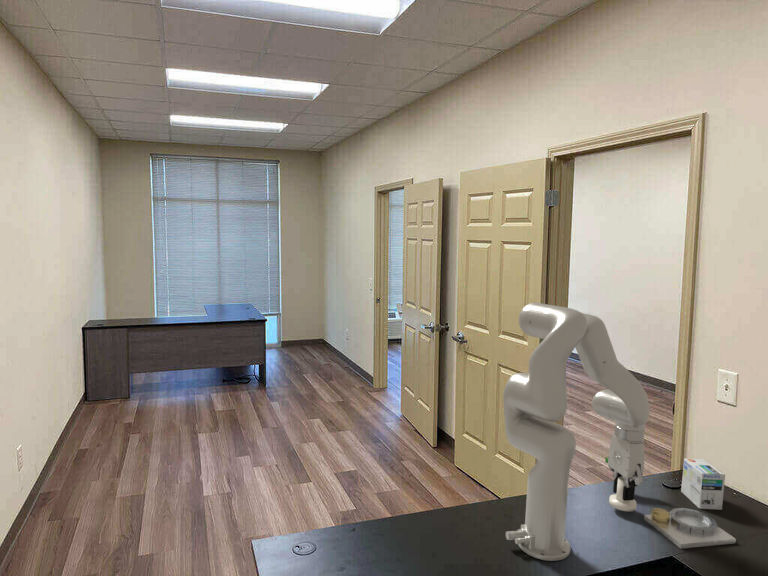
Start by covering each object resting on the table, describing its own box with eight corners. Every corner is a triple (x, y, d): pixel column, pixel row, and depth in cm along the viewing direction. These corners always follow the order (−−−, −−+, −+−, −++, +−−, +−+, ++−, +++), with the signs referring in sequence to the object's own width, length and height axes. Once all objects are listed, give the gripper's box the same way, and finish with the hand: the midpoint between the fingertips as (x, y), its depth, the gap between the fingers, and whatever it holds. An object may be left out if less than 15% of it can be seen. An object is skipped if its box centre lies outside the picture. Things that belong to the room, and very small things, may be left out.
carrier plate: (680, 548, 138) (681, 536, 138) (643, 519, 152) (644, 508, 151) (735, 543, 141) (736, 531, 141) (694, 514, 155) (695, 503, 154)
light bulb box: (722, 510, 158) (726, 474, 157) (699, 509, 158) (702, 473, 157) (701, 492, 169) (705, 458, 167) (679, 491, 169) (683, 457, 167)
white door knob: (618, 512, 151) (621, 485, 151) (603, 499, 158) (606, 474, 157) (641, 510, 153) (644, 484, 152) (625, 498, 160) (628, 473, 159)
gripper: (599, 423, 161) (594, 483, 163) (636, 445, 144) (629, 512, 146) (622, 422, 162) (617, 482, 164) (661, 444, 146) (654, 510, 148)
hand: (623, 495), depth 155 cm, fingers closed on white door knob, 3 cm apart
